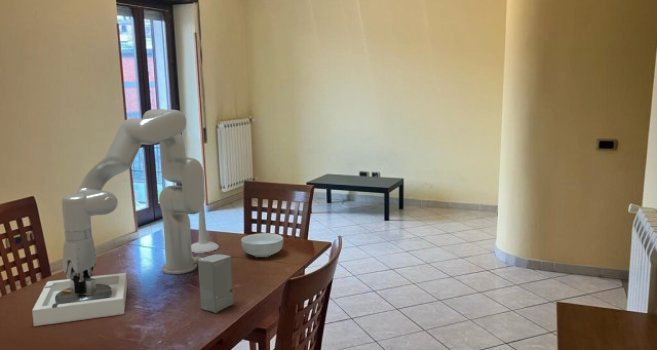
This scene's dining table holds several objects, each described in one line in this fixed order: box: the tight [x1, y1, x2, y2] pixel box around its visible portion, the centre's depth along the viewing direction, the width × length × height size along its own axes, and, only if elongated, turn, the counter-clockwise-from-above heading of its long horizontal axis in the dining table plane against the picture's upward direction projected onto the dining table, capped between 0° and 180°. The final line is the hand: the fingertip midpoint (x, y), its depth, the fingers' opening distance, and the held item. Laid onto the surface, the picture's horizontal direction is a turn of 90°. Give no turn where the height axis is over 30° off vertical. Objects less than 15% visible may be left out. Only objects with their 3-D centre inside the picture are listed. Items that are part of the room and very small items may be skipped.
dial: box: [55, 278, 112, 304], centre depth 163 cm, size 16×16×6 cm
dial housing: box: [31, 272, 128, 327], centre depth 163 cm, size 24×24×5 cm
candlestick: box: [191, 205, 220, 254], centre depth 218 cm, size 13×13×30 cm
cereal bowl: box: [240, 232, 284, 258], centre depth 211 cm, size 17×17×7 cm
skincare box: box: [197, 253, 234, 314], centre depth 160 cm, size 8×7×16 cm
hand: (83, 291), depth 163 cm, fingers closed on dial, 2 cm apart
